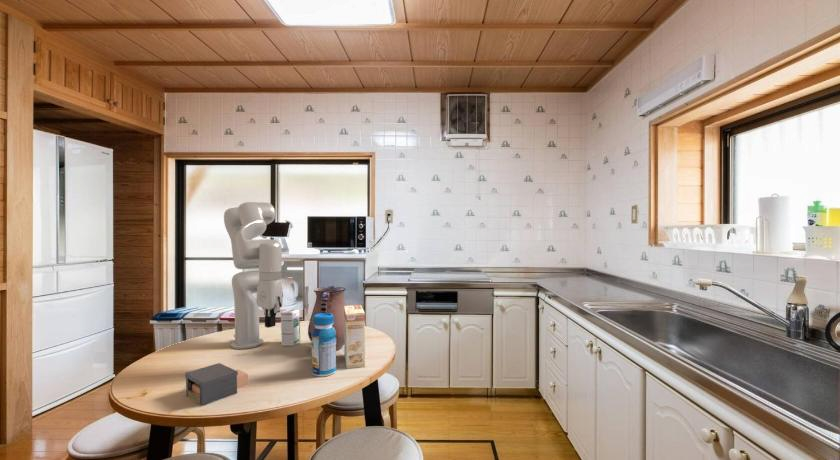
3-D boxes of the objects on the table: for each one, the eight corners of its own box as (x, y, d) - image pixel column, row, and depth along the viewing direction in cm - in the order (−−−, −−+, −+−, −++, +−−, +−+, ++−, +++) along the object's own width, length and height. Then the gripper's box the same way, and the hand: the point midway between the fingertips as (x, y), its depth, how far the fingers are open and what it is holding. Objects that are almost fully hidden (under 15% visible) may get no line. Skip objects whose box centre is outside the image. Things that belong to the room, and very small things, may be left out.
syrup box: (293, 346, 158) (293, 312, 158) (281, 345, 159) (280, 311, 159) (300, 342, 164) (300, 309, 163) (288, 341, 165) (287, 308, 165)
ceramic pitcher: (350, 340, 165) (350, 284, 165) (352, 356, 145) (351, 292, 145) (309, 343, 162) (309, 285, 161) (305, 360, 141) (304, 294, 141)
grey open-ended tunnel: (185, 395, 112) (185, 372, 112) (219, 383, 120) (219, 362, 120) (202, 406, 105) (202, 382, 105) (238, 393, 113) (237, 371, 113)
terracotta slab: (192, 397, 112) (192, 383, 112) (238, 381, 123) (238, 369, 123) (201, 402, 108) (200, 389, 108) (247, 386, 119) (247, 373, 119)
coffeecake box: (365, 367, 133) (365, 312, 133) (345, 369, 132) (345, 314, 132) (362, 353, 148) (361, 304, 148) (344, 354, 146) (343, 305, 146)
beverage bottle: (330, 378, 124) (329, 318, 124) (307, 376, 125) (306, 317, 125) (340, 368, 132) (339, 312, 132) (318, 367, 134) (317, 311, 134)
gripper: (249, 274, 135) (249, 324, 136) (271, 280, 126) (271, 333, 127) (268, 272, 141) (268, 319, 142) (291, 277, 132) (291, 328, 133)
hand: (270, 326), depth 134 cm, fingers closed
